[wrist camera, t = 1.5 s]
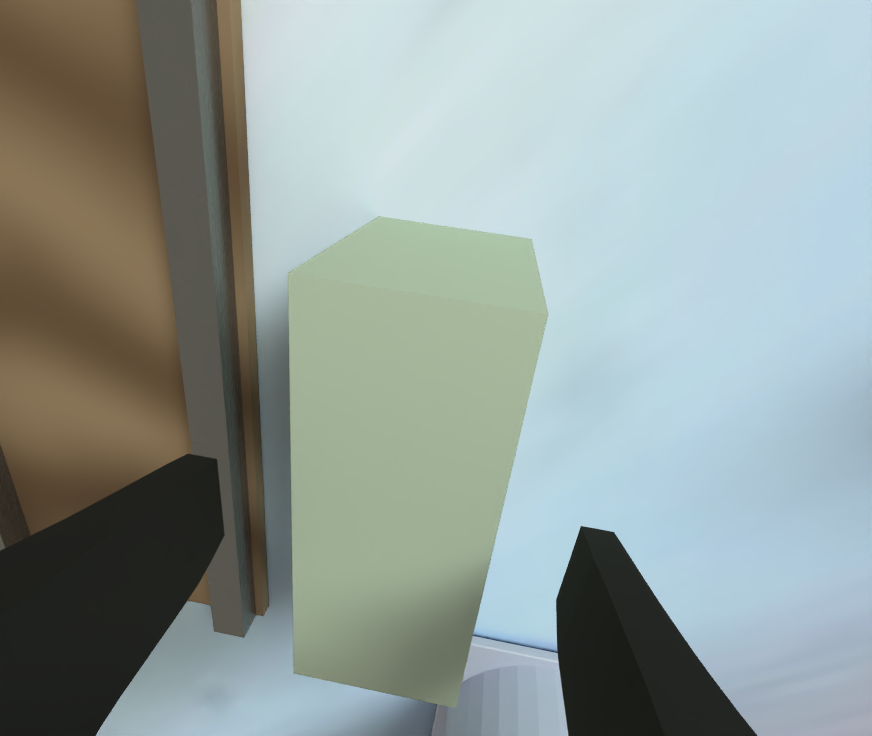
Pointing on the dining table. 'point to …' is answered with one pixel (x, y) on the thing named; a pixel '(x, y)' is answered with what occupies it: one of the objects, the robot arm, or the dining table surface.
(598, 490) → the dining table surface
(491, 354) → the pale green block
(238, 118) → the floor track
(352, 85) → the dining table surface
